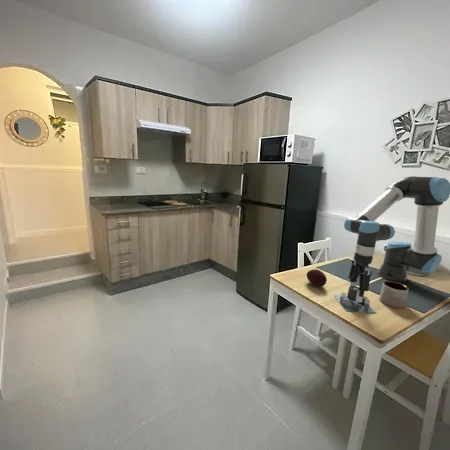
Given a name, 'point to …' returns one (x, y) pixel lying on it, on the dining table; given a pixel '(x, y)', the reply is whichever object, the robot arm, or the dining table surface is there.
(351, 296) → the cap
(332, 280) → the dining table surface
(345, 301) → the blue square tray
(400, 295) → the planter
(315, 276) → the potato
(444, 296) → the dining table surface
